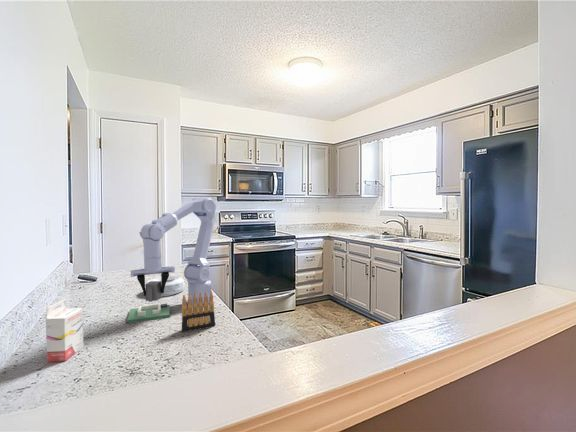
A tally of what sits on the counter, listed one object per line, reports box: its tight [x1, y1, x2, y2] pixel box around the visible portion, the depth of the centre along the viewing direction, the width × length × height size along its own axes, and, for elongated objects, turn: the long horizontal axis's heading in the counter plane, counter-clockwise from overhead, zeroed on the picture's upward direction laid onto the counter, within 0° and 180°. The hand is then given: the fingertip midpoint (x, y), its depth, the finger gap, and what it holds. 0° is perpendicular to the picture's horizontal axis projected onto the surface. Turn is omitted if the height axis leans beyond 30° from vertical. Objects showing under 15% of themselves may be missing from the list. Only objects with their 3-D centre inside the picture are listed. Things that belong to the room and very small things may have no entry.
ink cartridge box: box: [45, 298, 84, 363], centre depth 85 cm, size 9×5×15 cm, turn 5°
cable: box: [145, 275, 186, 297], centre depth 144 cm, size 18×18×6 cm
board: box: [126, 303, 171, 324], centre depth 115 cm, size 14×12×2 cm
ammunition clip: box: [181, 290, 216, 333], centre depth 102 cm, size 11×2×12 cm, turn 115°
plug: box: [145, 281, 163, 303], centre depth 110 cm, size 4×5×6 cm
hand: (153, 293), depth 111 cm, fingers closed on plug, 5 cm apart
